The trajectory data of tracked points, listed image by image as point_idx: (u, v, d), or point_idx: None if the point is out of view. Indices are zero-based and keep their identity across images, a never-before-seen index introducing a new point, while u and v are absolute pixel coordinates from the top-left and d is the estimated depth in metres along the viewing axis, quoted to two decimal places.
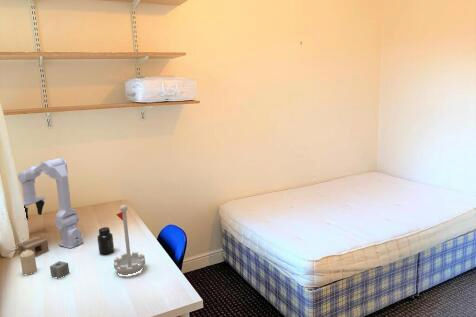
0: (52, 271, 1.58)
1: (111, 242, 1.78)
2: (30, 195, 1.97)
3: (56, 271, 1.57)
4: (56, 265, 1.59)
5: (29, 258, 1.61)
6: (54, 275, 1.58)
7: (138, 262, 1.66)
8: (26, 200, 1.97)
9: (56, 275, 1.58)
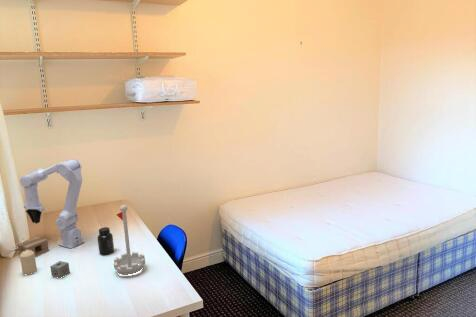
0: (52, 271, 1.58)
1: (111, 242, 1.78)
2: (26, 200, 1.88)
3: (56, 271, 1.57)
4: (56, 265, 1.59)
5: (29, 258, 1.61)
6: (54, 275, 1.58)
7: (138, 262, 1.66)
8: None
9: (56, 275, 1.58)
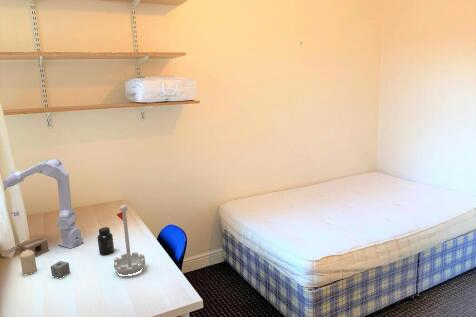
0: (53, 271, 1.58)
1: (111, 242, 1.78)
2: None
3: (57, 271, 1.57)
4: (57, 265, 1.59)
5: (29, 258, 1.61)
6: (55, 275, 1.58)
7: (138, 262, 1.66)
8: None
9: (57, 275, 1.58)
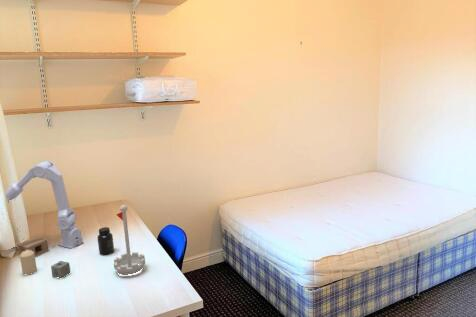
0: (53, 271, 1.58)
1: (111, 242, 1.78)
2: None
3: (57, 271, 1.57)
4: (57, 265, 1.59)
5: (29, 258, 1.61)
6: (55, 275, 1.58)
7: (138, 262, 1.66)
8: None
9: (57, 275, 1.58)
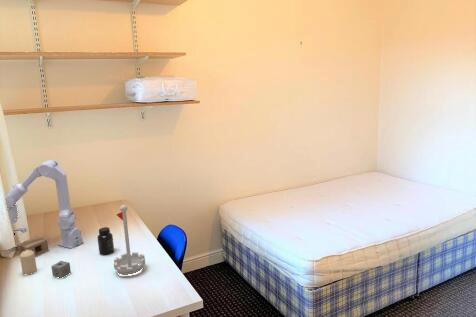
0: (54, 271, 1.58)
1: (111, 242, 1.78)
2: None
3: (58, 271, 1.57)
4: (58, 265, 1.59)
5: (29, 258, 1.61)
6: (56, 275, 1.59)
7: (138, 262, 1.66)
8: None
9: (58, 275, 1.58)
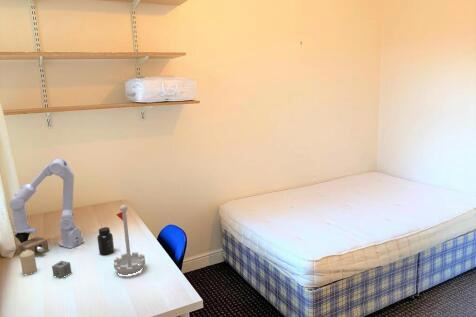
0: (54, 271, 1.59)
1: (111, 242, 1.78)
2: (14, 223, 1.79)
3: (58, 271, 1.58)
4: (58, 265, 1.59)
5: (29, 258, 1.61)
6: (56, 275, 1.59)
7: (138, 262, 1.66)
8: None
9: (58, 275, 1.58)
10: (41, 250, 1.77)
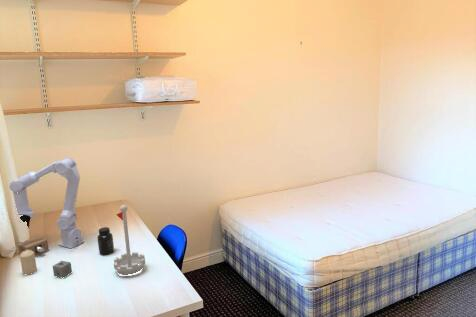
0: (55, 271, 1.59)
1: (111, 242, 1.78)
2: None
3: (59, 271, 1.58)
4: (59, 265, 1.59)
5: (29, 258, 1.61)
6: (57, 275, 1.59)
7: (138, 262, 1.66)
8: None
9: (59, 275, 1.58)
10: (41, 250, 1.77)
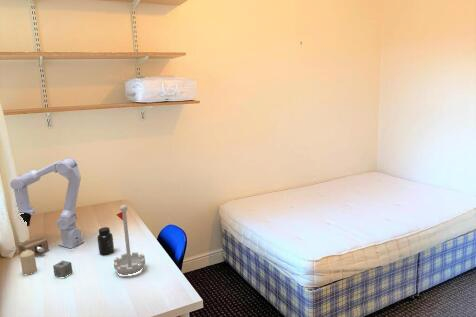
0: (55, 270, 1.59)
1: (111, 242, 1.78)
2: None
3: (59, 270, 1.58)
4: (59, 264, 1.59)
5: (29, 258, 1.61)
6: (57, 274, 1.59)
7: (138, 262, 1.66)
8: None
9: (59, 274, 1.58)
10: (41, 250, 1.77)
